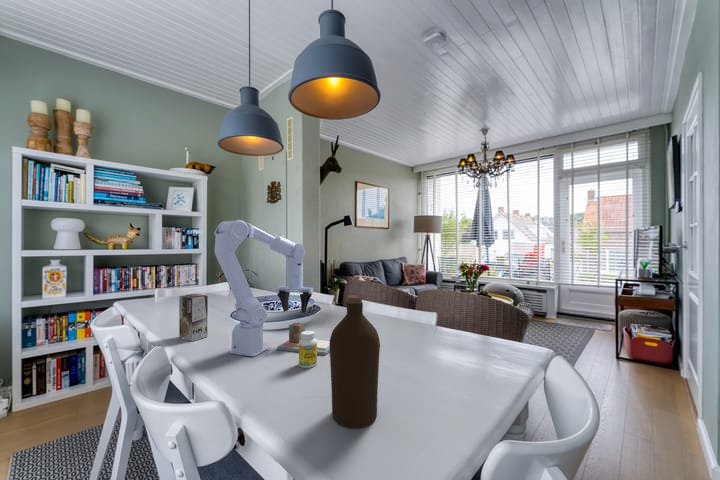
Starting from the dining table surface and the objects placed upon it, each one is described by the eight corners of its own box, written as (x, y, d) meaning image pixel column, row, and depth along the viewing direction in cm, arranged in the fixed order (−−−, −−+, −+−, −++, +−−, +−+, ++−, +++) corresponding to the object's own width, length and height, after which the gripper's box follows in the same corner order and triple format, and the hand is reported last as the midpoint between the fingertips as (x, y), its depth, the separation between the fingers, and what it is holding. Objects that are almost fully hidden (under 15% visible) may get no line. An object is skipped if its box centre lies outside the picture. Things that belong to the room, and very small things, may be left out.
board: (277, 349, 104) (277, 344, 104) (293, 339, 115) (293, 335, 115) (325, 355, 99) (325, 350, 99) (338, 344, 109) (338, 340, 109)
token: (288, 342, 107) (289, 325, 107) (294, 339, 110) (294, 322, 110) (299, 343, 105) (299, 326, 105) (304, 340, 109) (304, 323, 109)
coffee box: (208, 337, 118) (208, 295, 118) (191, 341, 112) (191, 297, 112) (195, 333, 122) (195, 293, 123) (178, 337, 117) (178, 295, 117)
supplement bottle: (312, 360, 95) (312, 329, 95) (320, 365, 90) (320, 333, 91) (295, 363, 92) (296, 331, 92) (303, 369, 87) (303, 336, 88)
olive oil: (355, 438, 57) (355, 303, 57) (318, 416, 64) (319, 296, 64) (390, 414, 65) (390, 296, 65) (354, 397, 72) (354, 290, 72)
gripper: (316, 275, 117) (316, 310, 117) (283, 273, 121) (283, 308, 121) (308, 277, 110) (308, 314, 110) (273, 275, 115) (273, 312, 115)
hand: (294, 311), depth 115 cm, fingers open, 7 cm apart
